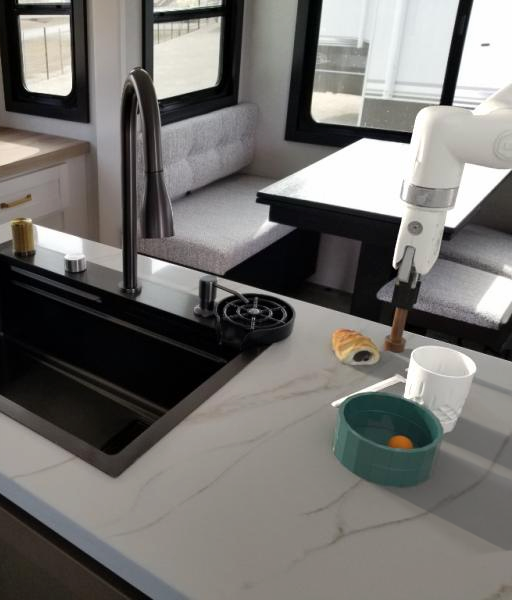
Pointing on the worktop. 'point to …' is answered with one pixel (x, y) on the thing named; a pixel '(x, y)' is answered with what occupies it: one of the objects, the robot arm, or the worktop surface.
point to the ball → (400, 442)
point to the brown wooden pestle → (397, 332)
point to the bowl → (387, 438)
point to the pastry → (354, 348)
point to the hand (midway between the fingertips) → (403, 304)
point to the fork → (376, 387)
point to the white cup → (440, 382)
